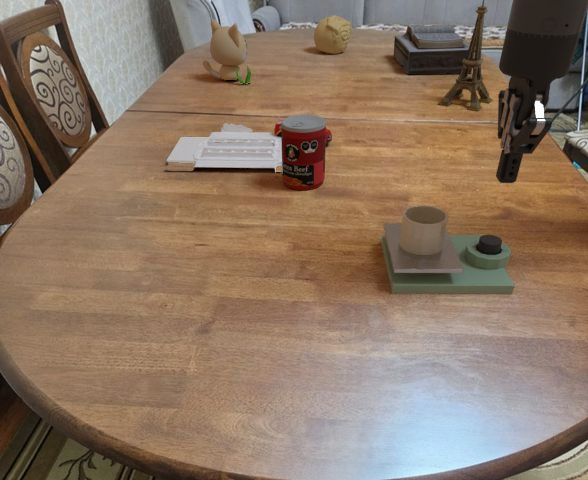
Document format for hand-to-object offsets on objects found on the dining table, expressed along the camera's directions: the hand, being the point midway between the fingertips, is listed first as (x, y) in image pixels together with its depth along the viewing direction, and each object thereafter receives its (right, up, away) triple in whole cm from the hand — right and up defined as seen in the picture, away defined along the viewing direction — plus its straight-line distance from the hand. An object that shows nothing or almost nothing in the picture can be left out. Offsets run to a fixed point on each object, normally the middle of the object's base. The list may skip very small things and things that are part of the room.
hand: (505, 180), depth 70 cm
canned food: (-25, +9, +32) cm, 42 cm away
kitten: (-45, +56, +88) cm, 114 cm away
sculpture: (-14, +79, +115) cm, 141 cm away
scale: (-6, -10, +8) cm, 14 cm away
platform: (-9, -7, +7) cm, 14 cm away
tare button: (0, -8, +7) cm, 10 cm away
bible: (+15, +67, +100) cm, 121 cm away
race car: (-25, +24, +48) cm, 59 cm away
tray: (-38, +19, +44) cm, 61 cm away
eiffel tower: (+17, +41, +69) cm, 82 cm away
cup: (-9, -7, +6) cm, 13 cm away
